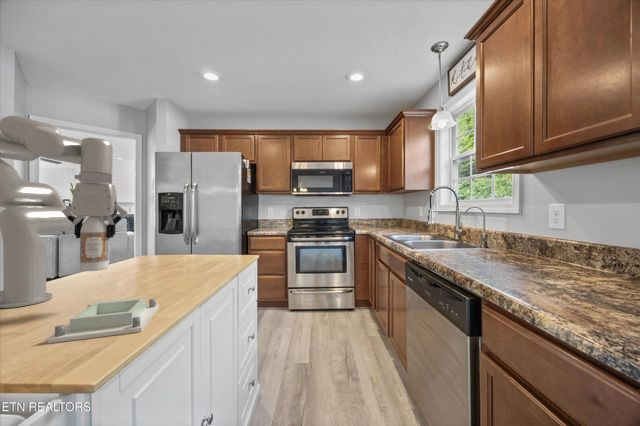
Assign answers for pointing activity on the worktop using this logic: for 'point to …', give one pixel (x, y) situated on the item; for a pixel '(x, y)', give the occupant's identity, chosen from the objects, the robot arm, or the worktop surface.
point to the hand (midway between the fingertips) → (95, 237)
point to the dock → (107, 320)
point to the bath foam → (94, 244)
